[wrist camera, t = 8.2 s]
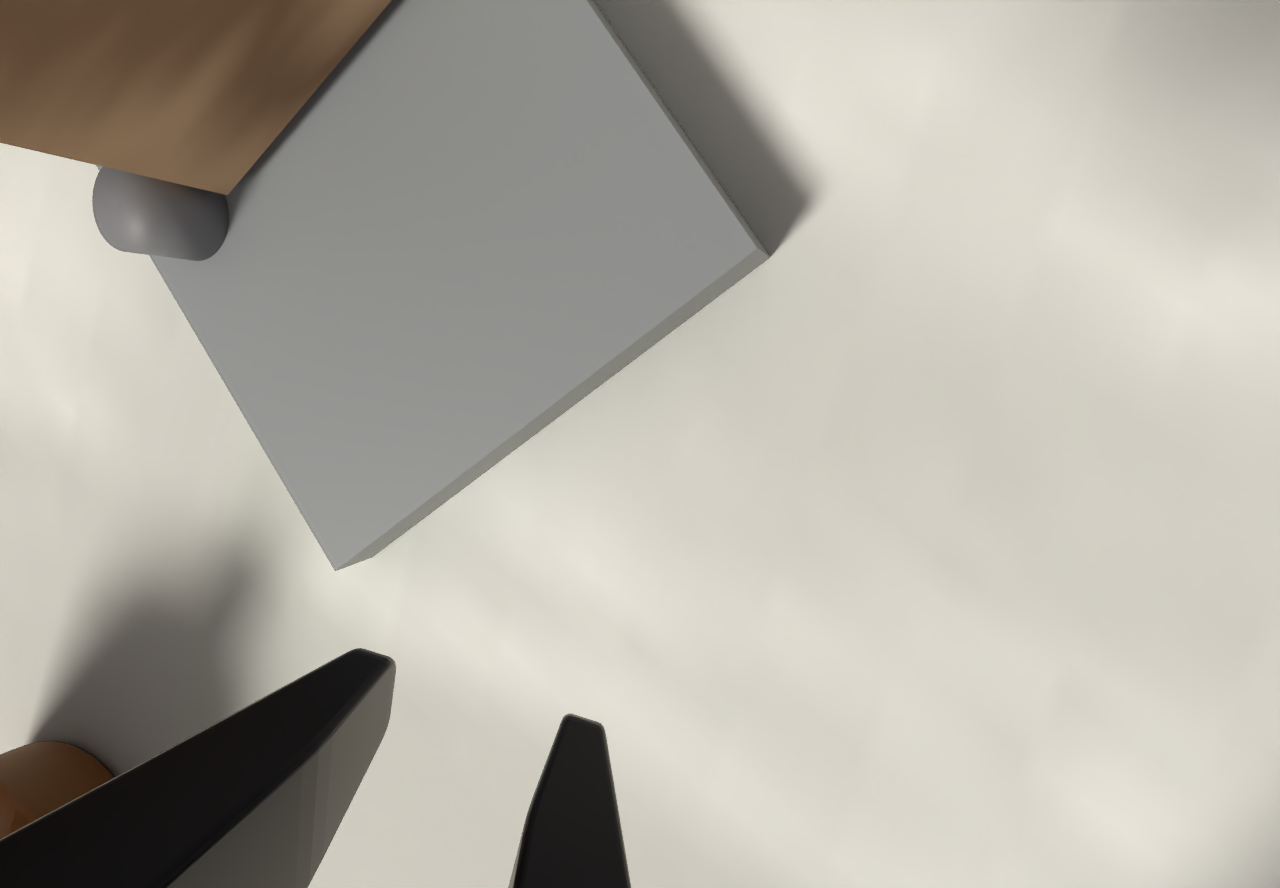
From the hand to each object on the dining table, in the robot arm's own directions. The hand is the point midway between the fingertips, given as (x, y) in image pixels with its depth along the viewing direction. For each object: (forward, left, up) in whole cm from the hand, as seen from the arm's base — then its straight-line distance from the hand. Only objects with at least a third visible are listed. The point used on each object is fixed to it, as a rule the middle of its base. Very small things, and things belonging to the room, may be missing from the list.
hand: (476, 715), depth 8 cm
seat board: (+8, +9, -11) cm, 17 cm away
